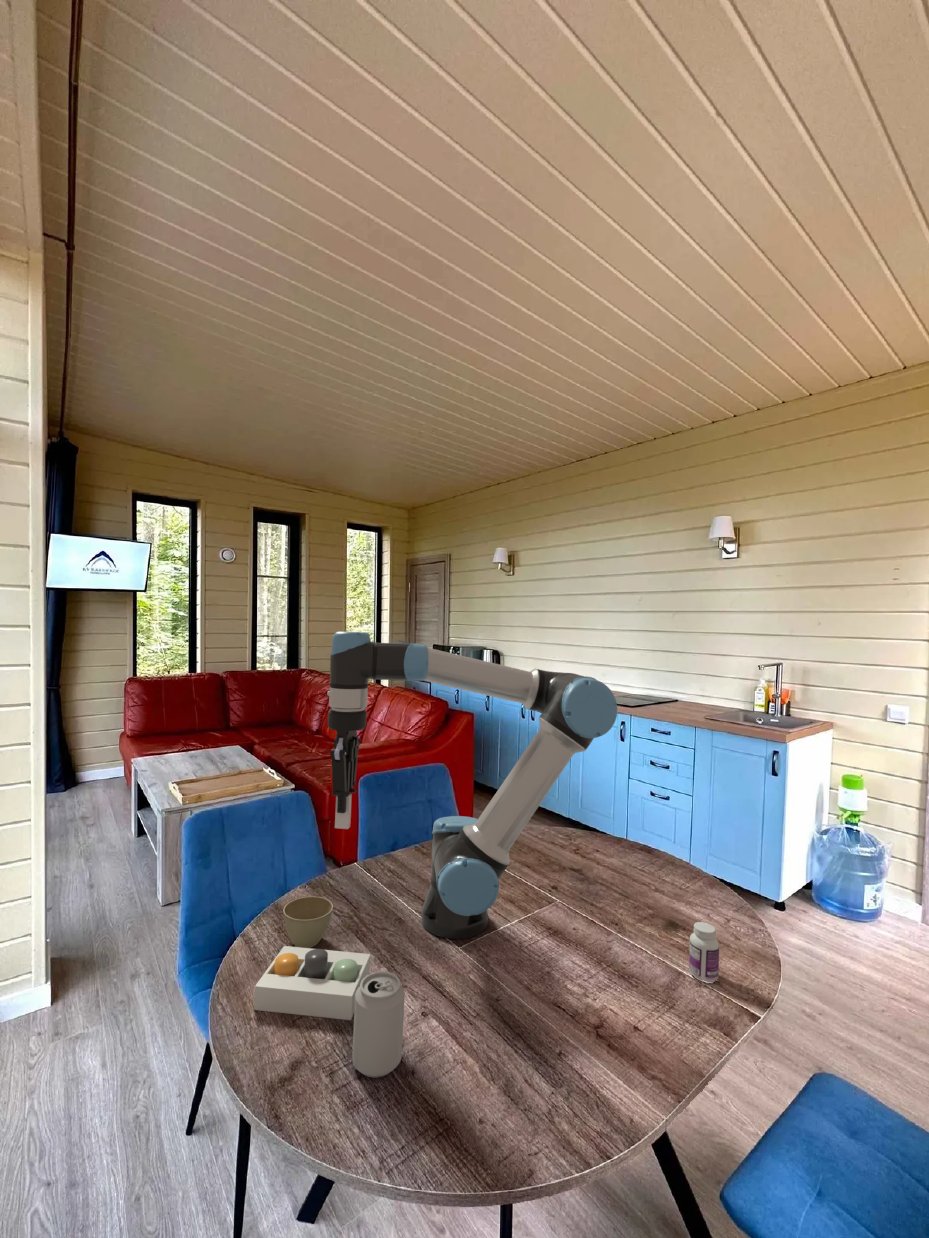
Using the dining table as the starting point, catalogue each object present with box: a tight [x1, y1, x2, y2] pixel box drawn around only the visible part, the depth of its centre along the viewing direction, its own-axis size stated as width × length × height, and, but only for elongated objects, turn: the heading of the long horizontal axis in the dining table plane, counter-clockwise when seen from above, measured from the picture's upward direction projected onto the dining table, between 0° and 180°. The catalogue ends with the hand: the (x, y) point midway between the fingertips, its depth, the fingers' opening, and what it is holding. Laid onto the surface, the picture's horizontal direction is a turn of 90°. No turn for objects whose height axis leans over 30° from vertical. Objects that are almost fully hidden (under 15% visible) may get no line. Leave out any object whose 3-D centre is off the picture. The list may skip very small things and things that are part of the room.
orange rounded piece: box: [274, 953, 298, 976], centre depth 99 cm, size 4×4×4 cm
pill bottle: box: [688, 921, 720, 982], centre depth 108 cm, size 5×5×10 cm
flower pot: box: [282, 895, 334, 949], centre depth 114 cm, size 10×10×7 cm
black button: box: [304, 948, 328, 980], centre depth 99 cm, size 4×4×4 cm
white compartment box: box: [253, 945, 371, 1021], centre depth 99 cm, size 17×12×4 cm
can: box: [351, 971, 406, 1079], centre depth 83 cm, size 8×8×12 cm
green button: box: [334, 959, 357, 983], centre depth 98 cm, size 4×4×4 cm
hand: (342, 827), depth 109 cm, fingers closed
